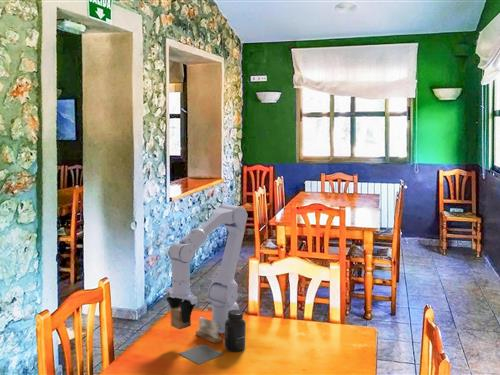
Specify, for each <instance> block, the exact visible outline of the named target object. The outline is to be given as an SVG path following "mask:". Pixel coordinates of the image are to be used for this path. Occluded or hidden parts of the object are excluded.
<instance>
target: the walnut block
mask: <svg viewBox="0 0 500 375" xmlns="http://www.w3.org/2000/svg"><path fill="white" fill-rule="evenodd" d="M191 316H192V315H191ZM191 316H190V320H189V322H186V323H183V320H182V312H181V308H180V305H179V306H176V307H173V308H171V307H170V320H171V322H170V326H171V327H173V328H176V329H177V330H183V329H186V328H188V327H191V326H192V322H191Z"/></svg>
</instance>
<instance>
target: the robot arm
mask: <svg viewBox="0 0 500 375" xmlns="http://www.w3.org/2000/svg"><path fill="white" fill-rule="evenodd" d="M248 216H249V215H248V212H247V210H246V208H245V207H244V206H242V205H240V206H239V205H232V204H227V203H220V204H219V205H218V207H216V208H215V209H214V212H213V214H211V216H210V217H209V218H208V219H207V220H206V221H205V222H204V223H203V224H202V226H200V228H199V227H198V228H197V227H196V228H195V227H194V228H192V229H190V231H189V233H187V234H186V235H185V236H183V237H182V238H181V239H180V240H179V241H175V242H173V243H172V244H171V245H170V247H169V250H168V251H167V256H168V257H169V259H170V264H171V281H172V282H171V284H172V286H170V287H166V288H165V295H169V296H167V297H166V301H167V303H168V305H169V307H170V309H171V308H173V307H176V306H179V305H180V308H181V312H182V320H183V323H186V322H189V320H190V316H192V312H193V309H194V307H195V306H196V304H198V297H197V296H196V295H194V294H193V293H192V292H191V267H190V266H191V265H190V263H191V261H192V259H193V258H194V255H195V253H196V250H198V249H199V248H200V247H201V246H202V245H203V244H205V243H206V241H207V236H209V235H210V234H211V233H212V232H213V231H215V230H216V229H217V228H219V227H220V226H221V225H223V226H224V227H225V228H226V229H227V232H228V233H227V234H228V235H227V240H226V244H225V248H224V250H223V251H224V252H223V256H222V259H221V263H220V269H219V273H218V275H217V276H215V277H213V279H212V280H211V284H210V285H209V287H208V289H207V298H208V299H209V300H210V303H211V304H212V307H211V309H212V314H211V315H212V316H211V317H212V319H211V321H212V322H215V323H217V324H218V334H221V335H222V334H225V321H226V320H227V319H228V312H229V311H230V310H240V306H239V304H238V302H237V300H238V296H239V295H238V290H239V289H238V287H239V285H238V283H237V282H236V281H235V278H234V277H235V273H236V269H237V266H238V265H237V264H238V261H239V258H240V252H241V248H242V245H243V241H244V240H243V239H244V235H245V230H246V225H247V221H248Z"/></svg>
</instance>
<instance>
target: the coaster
mask: <svg viewBox="0 0 500 375" xmlns="http://www.w3.org/2000/svg"><path fill="white" fill-rule="evenodd" d="M178 355H180V356H182V357H184V358H185V359H187V360H189V361H191V362H192V363H195V364H197V365H201V364H203V363H206V362H209V361H210V360H213V359H216V358H218V357H220V356H223V355H224V353H222V352H221V351H218V350H216V349H214V348H211V347H210V346H208V345H206V344H203V343H202V344H200V345H197V346H195V347H191V348H188V349H187V350H184V351H182V352H179V353H178Z"/></svg>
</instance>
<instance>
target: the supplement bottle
mask: <svg viewBox="0 0 500 375" xmlns="http://www.w3.org/2000/svg"><path fill="white" fill-rule="evenodd" d="M246 324H247V323H246V321H245V319H244V313H243V310H240V309H239V310H230V311H229V312H228V319H227V320H226V321H225V333H224V344H223V345H224V348H225V349H226V350H227V351H229V352H235V353H236V352H242V351H243V350H245V349H246V330H247V327H246V326H247V325H246Z"/></svg>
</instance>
